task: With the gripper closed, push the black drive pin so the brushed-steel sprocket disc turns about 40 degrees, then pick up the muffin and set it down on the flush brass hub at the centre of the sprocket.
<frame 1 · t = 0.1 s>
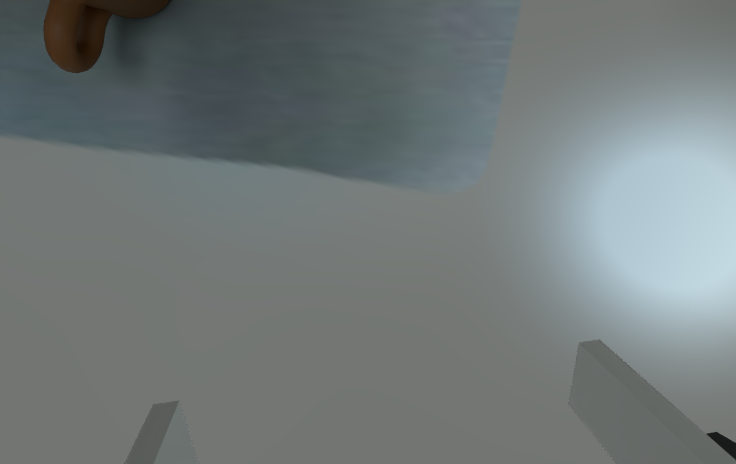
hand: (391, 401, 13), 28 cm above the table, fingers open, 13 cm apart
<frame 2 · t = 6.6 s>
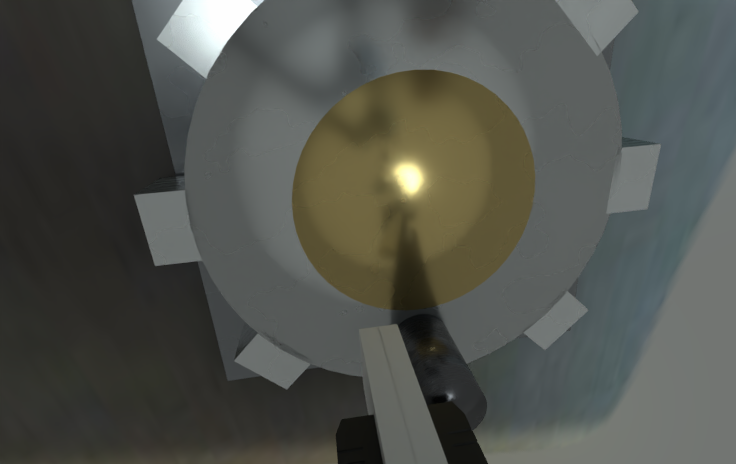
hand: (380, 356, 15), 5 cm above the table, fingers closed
base plate: (397, 180, 17), on the table
sprocket: (423, 209, 13), point 4 cm above the table, hinge at 0.0°, touching gripper
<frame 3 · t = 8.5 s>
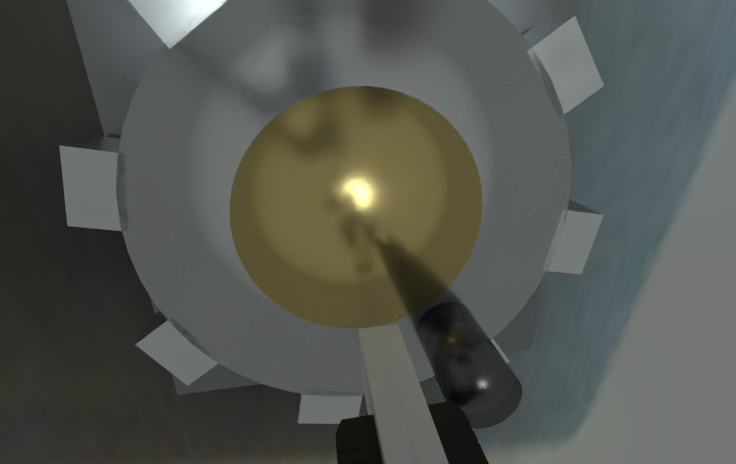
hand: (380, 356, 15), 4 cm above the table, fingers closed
base plate: (351, 194, 17), on the table
sprocket: (363, 227, 13), point 4 cm above the table, hinge at 33.2°
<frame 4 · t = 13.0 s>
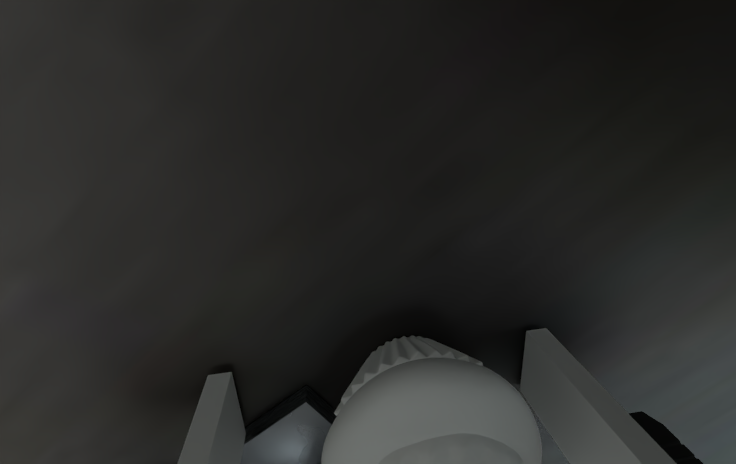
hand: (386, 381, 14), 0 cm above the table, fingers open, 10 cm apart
muffin: (405, 368, 14), on the table
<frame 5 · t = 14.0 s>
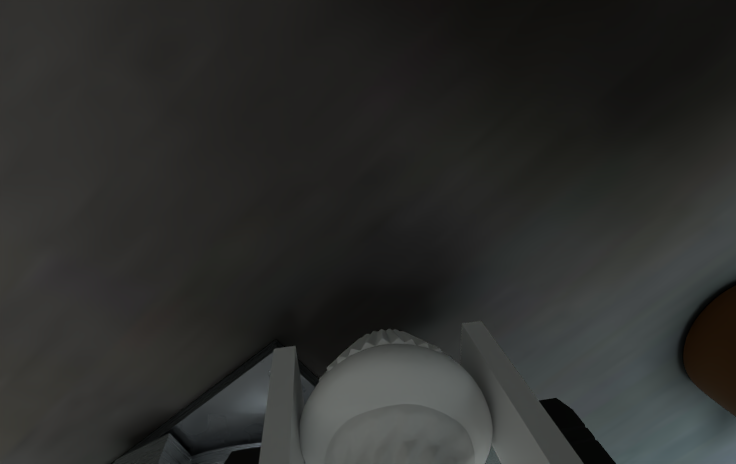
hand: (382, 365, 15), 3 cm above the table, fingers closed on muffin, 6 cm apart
mug: (730, 359, 23), on the table
muffin: (386, 359, 16), point 2 cm above the table, touching gripper
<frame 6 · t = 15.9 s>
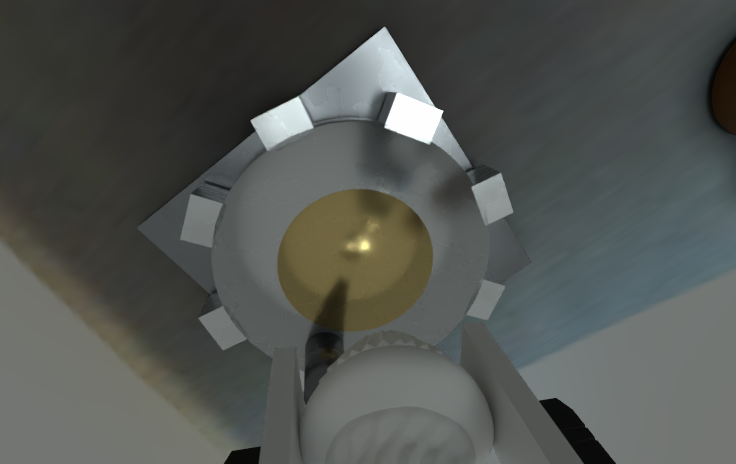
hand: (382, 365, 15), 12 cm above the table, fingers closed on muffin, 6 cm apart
base plate: (351, 241, 26), on the table
sprocket: (358, 271, 22), point 4 cm above the table, hinge at 33.2°
muffin: (386, 360, 16), point 11 cm above the table, touching gripper
when the fingers open (4 cm above the table, at t = 17.9 s): muffin stays where it is, resting on sprocket.
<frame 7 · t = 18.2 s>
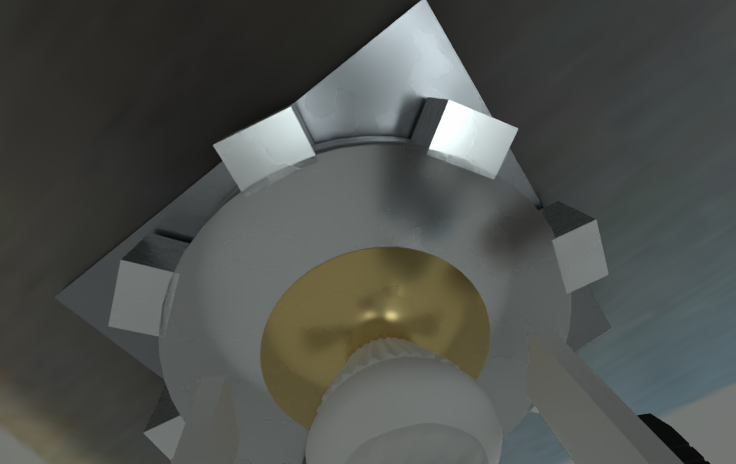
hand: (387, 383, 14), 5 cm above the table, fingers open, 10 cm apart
base plate: (366, 305, 18), on the table
sprocket: (382, 366, 14), point 4 cm above the table, hinge at 33.1°, touching muffin
muffin: (384, 366, 16), point 3 cm above the table, touching sprocket
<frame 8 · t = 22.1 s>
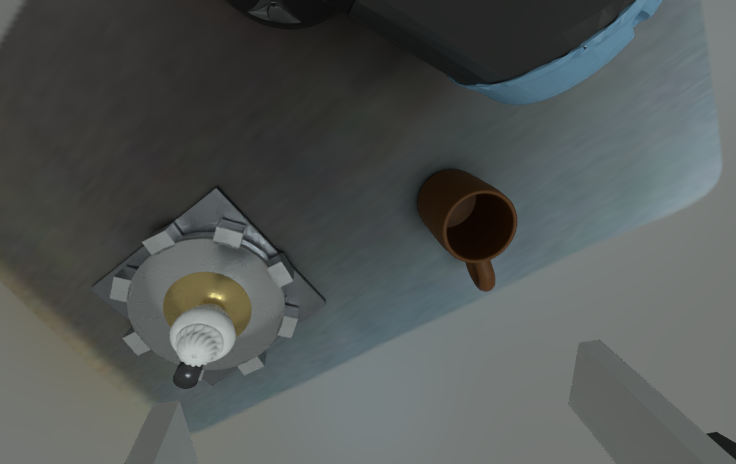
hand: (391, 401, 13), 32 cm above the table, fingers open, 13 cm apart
base plate: (215, 293, 45), on the table
mug: (450, 216, 46), on the table
sprocket: (206, 313, 41), point 4 cm above the table, hinge at 33.1°, touching muffin
muffin: (211, 315, 42), point 3 cm above the table, touching sprocket
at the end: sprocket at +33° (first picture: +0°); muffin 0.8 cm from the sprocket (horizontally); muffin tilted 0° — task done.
